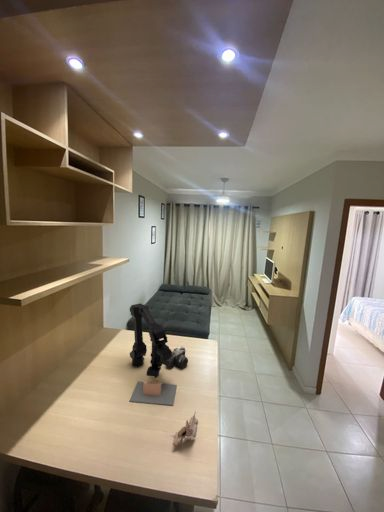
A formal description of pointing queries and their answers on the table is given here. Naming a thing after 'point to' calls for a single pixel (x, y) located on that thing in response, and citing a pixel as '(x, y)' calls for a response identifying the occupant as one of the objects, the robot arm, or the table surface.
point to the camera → (178, 358)
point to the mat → (163, 399)
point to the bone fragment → (186, 431)
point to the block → (152, 388)
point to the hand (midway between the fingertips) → (155, 377)
